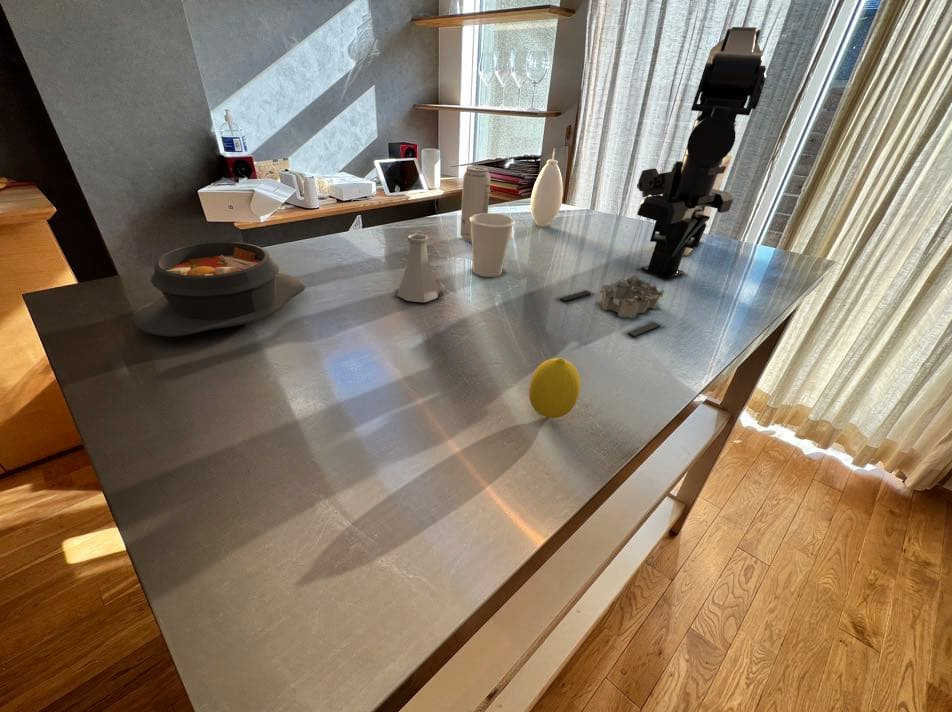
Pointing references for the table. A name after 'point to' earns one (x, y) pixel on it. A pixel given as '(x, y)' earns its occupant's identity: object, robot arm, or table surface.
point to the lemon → (554, 388)
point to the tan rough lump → (629, 297)
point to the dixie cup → (490, 242)
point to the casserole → (214, 289)
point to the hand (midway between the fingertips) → (669, 256)
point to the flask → (418, 273)
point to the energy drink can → (474, 197)
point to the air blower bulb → (547, 194)
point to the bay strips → (632, 333)
